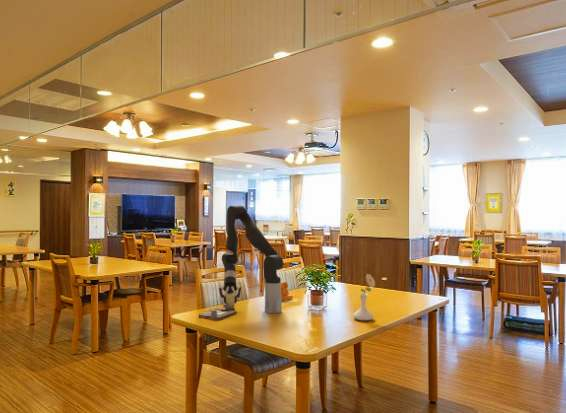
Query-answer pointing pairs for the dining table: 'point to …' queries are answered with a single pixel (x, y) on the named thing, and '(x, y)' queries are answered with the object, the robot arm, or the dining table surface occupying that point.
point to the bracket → (285, 291)
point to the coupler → (230, 301)
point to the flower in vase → (363, 312)
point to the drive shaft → (225, 307)
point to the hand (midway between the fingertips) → (230, 302)
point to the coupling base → (218, 314)
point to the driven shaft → (214, 313)
